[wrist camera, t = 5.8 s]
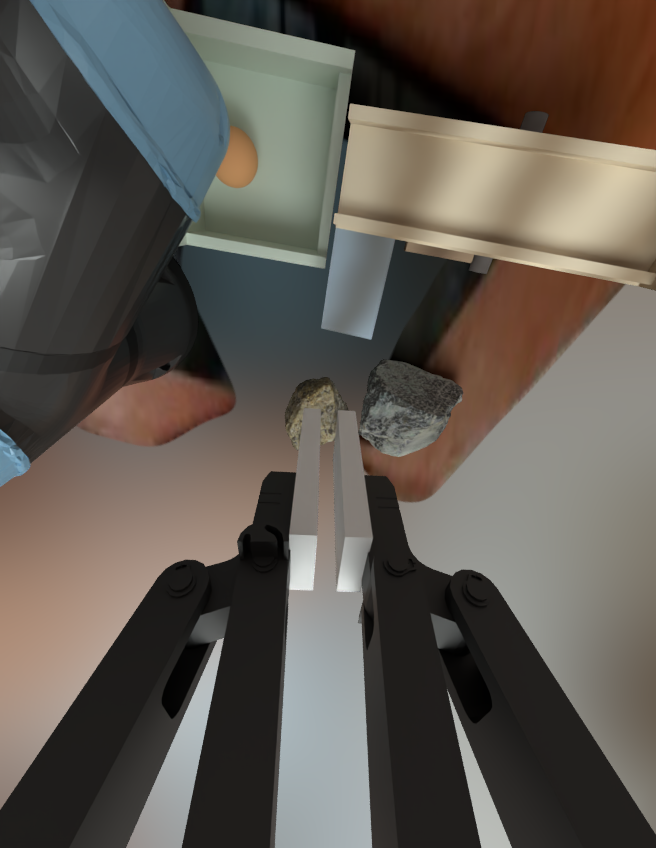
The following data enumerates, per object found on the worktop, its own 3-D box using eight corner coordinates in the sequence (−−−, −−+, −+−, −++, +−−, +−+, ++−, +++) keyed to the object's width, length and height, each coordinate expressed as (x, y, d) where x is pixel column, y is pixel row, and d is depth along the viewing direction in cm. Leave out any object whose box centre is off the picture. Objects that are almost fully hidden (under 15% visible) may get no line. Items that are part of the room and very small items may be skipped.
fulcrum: (403, 250, 29) (425, 261, 22) (432, 135, 25) (471, 105, 18) (543, 275, 30) (604, 293, 24) (594, 169, 26) (688, 153, 19)
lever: (326, 322, 27) (313, 337, 23) (361, 92, 19) (350, 60, 16) (576, 378, 25) (605, 404, 21) (724, 146, 17) (809, 124, 14)
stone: (457, 398, 26) (375, 473, 30) (484, 408, 34) (416, 466, 38) (387, 327, 30) (323, 401, 35) (425, 350, 38) (370, 409, 43)
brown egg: (260, 192, 24) (254, 192, 27) (262, 129, 22) (255, 136, 25) (209, 182, 23) (208, 183, 26) (207, 114, 21) (206, 123, 24)
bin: (199, 238, 29) (165, 244, 23) (188, 43, 22) (137, -17, 17) (325, 261, 30) (324, 272, 24) (350, 79, 23) (357, 35, 18)
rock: (271, 391, 38) (264, 411, 34) (334, 369, 36) (334, 388, 32) (295, 437, 41) (291, 460, 38) (353, 420, 40) (356, 441, 36)
